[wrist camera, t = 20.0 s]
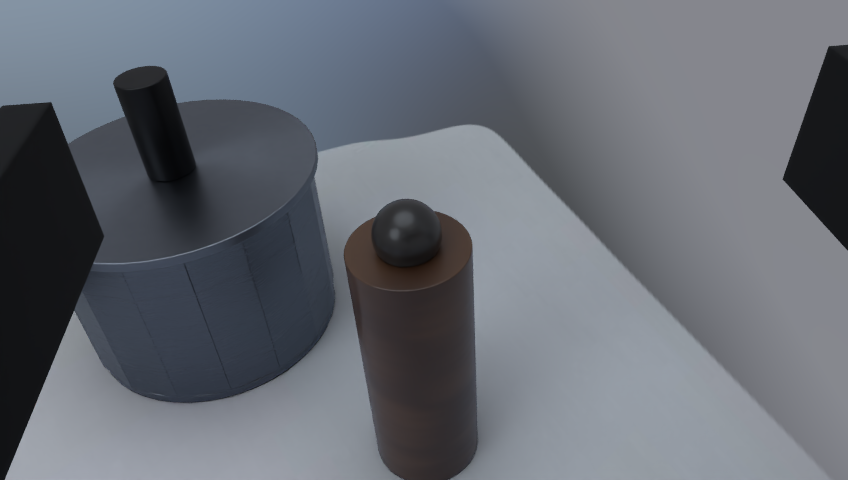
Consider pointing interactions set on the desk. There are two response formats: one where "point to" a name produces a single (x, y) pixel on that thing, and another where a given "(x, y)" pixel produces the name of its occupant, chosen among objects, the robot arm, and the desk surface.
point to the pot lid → (188, 173)
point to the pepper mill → (417, 337)
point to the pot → (216, 313)
